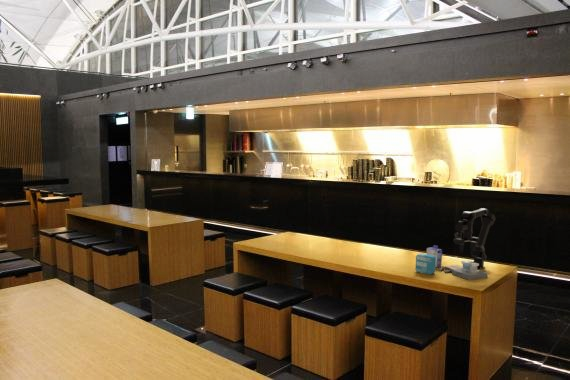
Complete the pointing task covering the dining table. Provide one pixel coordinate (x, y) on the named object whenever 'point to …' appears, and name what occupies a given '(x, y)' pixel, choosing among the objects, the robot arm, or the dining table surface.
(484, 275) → the stand
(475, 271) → the block
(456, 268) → the stand
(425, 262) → the data package
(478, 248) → the robot arm
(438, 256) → the ink cartridge box
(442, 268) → the bolt
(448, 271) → the bolt
